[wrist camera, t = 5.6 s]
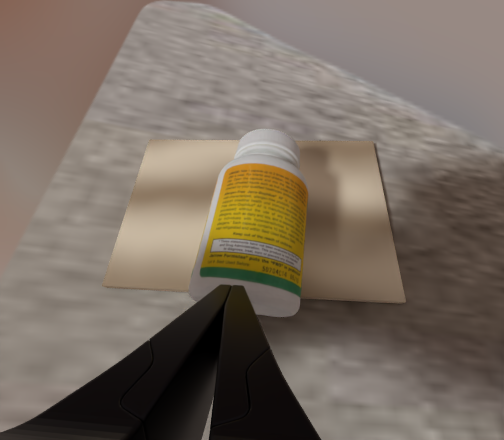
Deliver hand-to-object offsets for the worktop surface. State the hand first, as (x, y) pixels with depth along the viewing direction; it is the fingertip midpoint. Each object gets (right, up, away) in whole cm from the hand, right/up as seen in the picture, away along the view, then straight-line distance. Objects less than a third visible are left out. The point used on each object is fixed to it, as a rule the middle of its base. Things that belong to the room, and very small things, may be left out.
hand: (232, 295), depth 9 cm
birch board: (+1, +3, +9) cm, 10 cm away
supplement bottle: (0, -2, +3) cm, 3 cm away
